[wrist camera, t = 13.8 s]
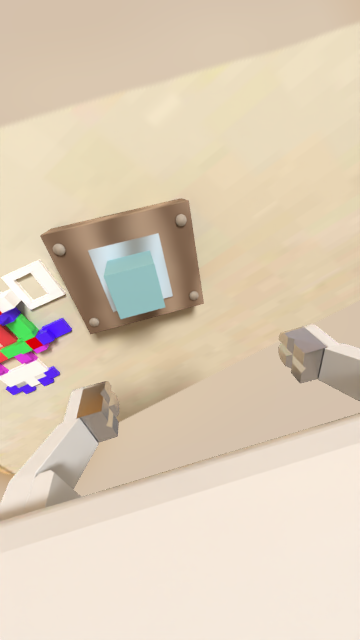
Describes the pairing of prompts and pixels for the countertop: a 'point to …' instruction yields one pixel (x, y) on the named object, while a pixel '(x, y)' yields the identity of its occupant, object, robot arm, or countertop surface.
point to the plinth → (123, 240)
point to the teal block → (134, 284)
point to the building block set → (27, 330)
